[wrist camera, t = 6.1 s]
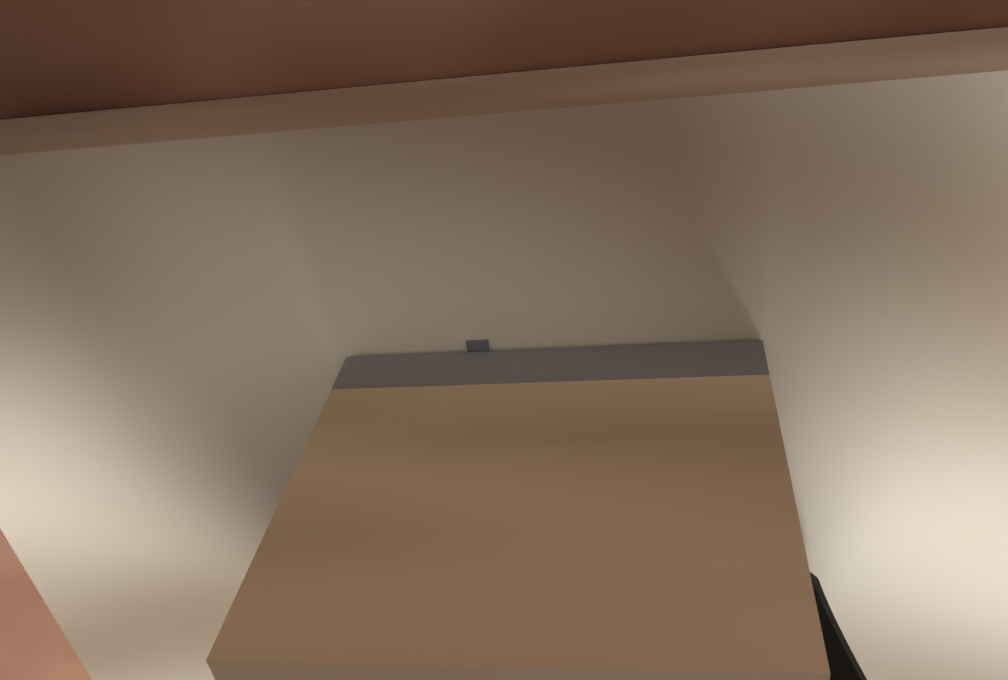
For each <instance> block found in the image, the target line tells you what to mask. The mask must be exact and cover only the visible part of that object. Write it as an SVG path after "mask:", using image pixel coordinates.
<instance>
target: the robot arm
mask: <svg viewBox="0 0 1008 680" xmlns="http://www.w3.org/2000/svg"><path fill="white" fill-rule="evenodd" d="M810 576H811V580H812V585H813V590H814V595H815V600H816V605H817V610H818V615H819V620H820V625H821V630H822V635H823V639H824V644H825V649H826V654H827V659H828V664H829V669H830V680H867V679H866V677H865V675H864V673H863V671H862V669H861V668H860V666H859V664H858V662H857V660H856V658H855V656H854V654H853V653H852V651H851V649H850V647H849V645H848V643H847V641H846V639H845V637H844V635H843V633H842V631H841V629H840V627H839V625H838V623H837V621H836V619H835V617H834V615H833V612H832V610H831V608H830V606H829V604H828V601H827V599H826V597H825V594H824V592H823V590H822V587H821V585H820V582H819V579H818V578H817V577H816V576H815V575H814V574H812V573H811V572H810Z"/></svg>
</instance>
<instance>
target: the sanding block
mask: <svg viewBox="0 0 1008 680" xmlns="http://www.w3.org/2000/svg"><path fill="white" fill-rule="evenodd" d="M206 662H207V664H208V666H209V668H210V670H211V672H212V674H213V676H214V679H215V680H830V669H829V664H828V659H827V654H826V649H825V644H824V639H823V635H822V630H821V625H820V620H819V615H818V610H817V605H816V600H815V595H814V590H813V585H812V580H811V576H810V571H809V566H808V561H807V556H806V551H805V546H804V541H803V536H802V531H801V526H800V522H799V517H798V512H797V507H796V502H795V497H794V492H793V487H792V482H791V477H790V472H789V468H788V463H787V458H786V453H785V448H784V443H783V438H782V433H781V428H780V423H779V418H778V414H777V409H776V404H775V399H774V394H773V389H772V384H771V379H770V374H769V369H768V364H767V360H766V355H765V350H764V345H763V340H760V341H735V342H710V343H685V344H660V345H636V346H611V347H586V348H561V349H536V350H511V351H487V352H462V353H437V354H412V355H387V356H363V357H346V359H345V361H344V363H343V365H342V367H341V369H340V372H339V374H338V376H337V378H336V380H335V382H334V385H333V387H332V389H331V391H330V393H329V395H328V398H327V400H326V402H325V404H324V406H323V408H322V411H321V413H320V415H319V417H318V419H317V421H316V423H315V426H314V428H313V430H312V432H311V434H310V436H309V439H308V441H307V443H306V445H305V447H304V449H303V452H302V454H301V456H300V458H299V460H298V462H297V465H296V467H295V469H294V471H293V473H292V475H291V478H290V480H289V482H288V484H287V486H286V488H285V491H284V493H283V495H282V497H281V499H280V501H279V504H278V506H277V508H276V510H275V512H274V514H273V516H272V519H271V521H270V523H269V525H268V527H267V529H266V532H265V534H264V536H263V538H262V540H261V542H260V545H259V547H258V549H257V551H256V553H255V555H254V558H253V560H252V562H251V564H250V566H249V568H248V571H247V573H246V575H245V577H244V579H243V581H242V584H241V586H240V588H239V590H238V592H237V594H236V597H235V599H234V601H233V603H232V605H231V607H230V609H229V612H228V614H227V616H226V618H225V620H224V622H223V625H222V627H221V629H220V631H219V633H218V635H217V638H216V640H215V642H214V644H213V646H212V648H211V651H210V653H209V655H208V657H207V659H206Z"/></svg>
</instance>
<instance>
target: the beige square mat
mask: <svg viewBox="0 0 1008 680" xmlns="http://www.w3.org/2000/svg"><path fill="white" fill-rule="evenodd" d="M760 340H763V345H764V350H765V355H766V360H767V364H768V369H769V374H770V379H771V384H772V389H773V394H774V399H775V404H776V409H777V414H778V418H779V423H780V428H781V433H782V438H783V443H784V448H785V453H786V458H787V463H788V468H789V472H790V477H791V482H792V487H793V492H794V497H795V502H796V507H797V512H798V517H799V522H800V526H801V531H802V536H803V541H804V546H805V551H806V556H807V561H808V566H809V571H810V572H811V573H812V574H814V575H815V576H816V577H817V578H818V579H819V582H820V585H821V587H822V590H823V592H824V594H825V597H826V599H827V601H828V604H829V606H830V608H831V610H832V612H833V615H834V617H835V619H836V621H837V623H838V625H839V627H840V629H841V631H842V633H843V635H844V637H845V639H846V641H847V643H848V645H849V647H850V649H851V651H852V653H853V654H854V656H855V658H856V660H857V662H858V664H859V666H860V668H861V669H862V671H863V673H864V675H865V677H866V679H867V680H1008V27H1001V28H990V29H979V30H968V31H958V32H947V33H936V34H925V35H914V36H903V37H892V38H881V39H871V40H860V41H849V42H838V43H827V44H816V45H805V46H795V47H784V48H773V49H762V50H751V51H740V52H729V53H719V54H708V55H697V56H686V57H675V58H664V59H653V60H643V61H632V62H621V63H610V64H599V65H588V66H577V67H567V68H556V69H545V70H534V71H523V72H512V73H501V74H491V75H480V76H469V77H458V78H447V79H436V80H425V81H415V82H404V83H393V84H382V85H371V86H360V87H349V88H339V89H328V90H317V91H306V92H295V93H284V94H273V95H263V96H252V97H241V98H230V99H219V100H208V101H197V102H187V103H176V104H165V105H154V106H143V107H132V108H121V109H111V110H100V111H89V112H78V113H67V114H56V115H45V116H35V117H24V118H13V119H2V120H0V528H1V530H2V532H3V533H4V535H5V537H6V538H7V540H8V542H9V543H10V545H11V547H12V548H13V550H14V552H15V553H16V555H17V557H18V558H19V560H20V562H21V563H22V565H23V567H24V568H25V570H26V572H27V573H28V575H29V577H30V578H31V580H32V582H33V583H34V585H35V587H36V588H37V590H38V592H39V593H40V595H41V597H42V598H43V600H44V601H45V603H46V605H47V606H48V608H49V610H50V611H51V613H52V615H53V616H54V618H55V620H56V621H57V623H58V625H59V626H60V628H61V630H62V631H63V633H64V635H65V636H66V638H67V640H68V641H69V643H70V645H71V646H72V648H73V650H74V651H75V653H76V655H77V656H78V658H79V660H80V661H81V663H82V665H83V666H84V668H85V669H86V671H87V673H88V674H89V676H90V678H91V679H92V680H215V679H214V676H213V674H212V672H211V670H210V668H209V666H208V664H207V662H206V659H207V657H208V655H209V653H210V651H211V648H212V646H213V644H214V642H215V640H216V638H217V635H218V633H219V631H220V629H221V627H222V625H223V622H224V620H225V618H226V616H227V614H228V612H229V609H230V607H231V605H232V603H233V601H234V599H235V597H236V594H237V592H238V590H239V588H240V586H241V584H242V581H243V579H244V577H245V575H246V573H247V571H248V568H249V566H250V564H251V562H252V560H253V558H254V555H255V553H256V551H257V549H258V547H259V545H260V542H261V540H262V538H263V536H264V534H265V532H266V529H267V527H268V525H269V523H270V521H271V519H272V516H273V514H274V512H275V510H276V508H277V506H278V504H279V501H280V499H281V497H282V495H283V493H284V491H285V488H286V486H287V484H288V482H289V480H290V478H291V475H292V473H293V471H294V469H295V467H296V465H297V462H298V460H299V458H300V456H301V454H302V452H303V449H304V447H305V445H306V443H307V441H308V439H309V436H310V434H311V432H312V430H313V428H314V426H315V423H316V421H317V419H318V417H319V415H320V413H321V411H322V408H323V406H324V404H325V402H326V400H327V398H328V395H329V393H330V391H331V389H332V387H333V385H334V382H335V380H336V378H337V376H338V374H339V372H340V369H341V367H342V365H343V363H344V361H345V359H346V357H363V356H387V355H412V354H437V353H462V352H487V351H511V350H536V349H561V348H586V347H611V346H636V345H660V344H685V343H710V342H735V341H760Z"/></svg>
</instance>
